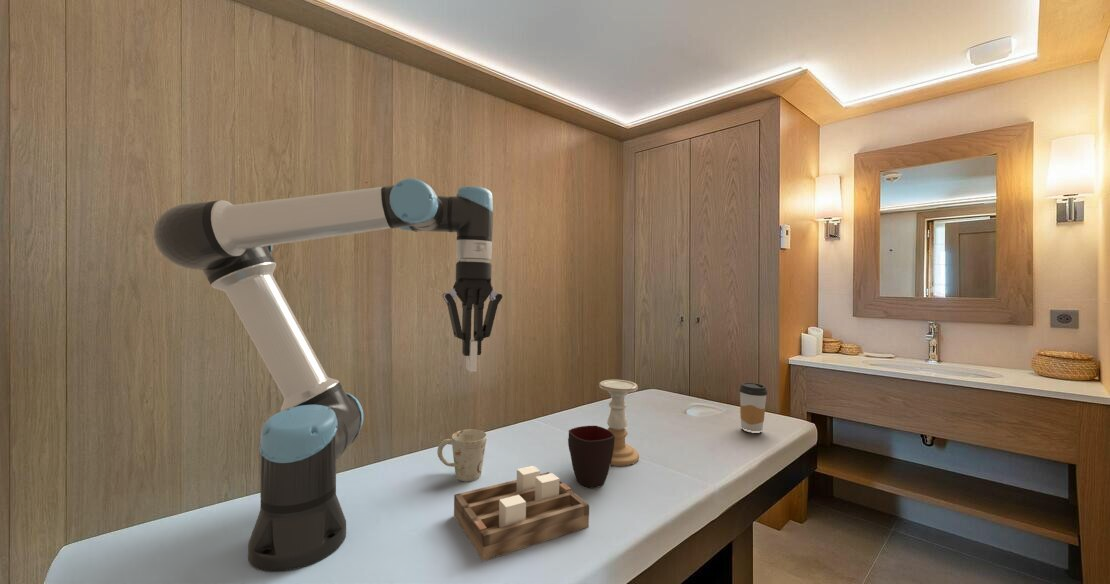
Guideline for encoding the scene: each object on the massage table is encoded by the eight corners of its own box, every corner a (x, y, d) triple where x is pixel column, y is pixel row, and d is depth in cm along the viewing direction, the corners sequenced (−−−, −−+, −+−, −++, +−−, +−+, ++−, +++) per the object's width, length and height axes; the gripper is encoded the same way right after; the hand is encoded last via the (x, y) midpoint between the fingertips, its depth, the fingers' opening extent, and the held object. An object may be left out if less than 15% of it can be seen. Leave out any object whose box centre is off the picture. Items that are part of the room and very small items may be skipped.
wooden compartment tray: (483, 561, 75) (483, 534, 75) (453, 515, 89) (454, 493, 89) (588, 526, 86) (589, 503, 86) (548, 491, 100) (548, 470, 100)
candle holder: (590, 463, 116) (592, 387, 115) (597, 445, 128) (599, 377, 127) (637, 469, 113) (640, 391, 112) (640, 450, 125) (642, 380, 124)
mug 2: (583, 496, 98) (584, 443, 98) (554, 471, 110) (555, 424, 110) (619, 487, 103) (620, 436, 102) (587, 464, 115) (588, 418, 115)
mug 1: (478, 485, 102) (479, 443, 101) (428, 479, 104) (428, 438, 104) (490, 470, 110) (491, 431, 110) (443, 464, 112) (444, 426, 112)
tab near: (505, 534, 79) (506, 507, 79) (498, 526, 81) (499, 499, 81) (525, 528, 81) (526, 501, 81) (518, 520, 83) (518, 494, 83)
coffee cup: (767, 429, 145) (769, 384, 145) (763, 437, 138) (766, 390, 138) (740, 424, 150) (741, 381, 149) (735, 431, 143) (737, 385, 142)
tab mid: (541, 507, 88) (542, 483, 88) (534, 500, 91) (535, 476, 91) (558, 502, 90) (559, 478, 90) (551, 496, 93) (552, 472, 93)
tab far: (522, 498, 92) (523, 474, 92) (516, 492, 94) (516, 469, 94) (539, 493, 94) (540, 470, 94) (532, 487, 96) (533, 465, 96)
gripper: (448, 259, 88) (446, 376, 89) (509, 262, 94) (506, 371, 95) (438, 260, 94) (436, 369, 95) (495, 262, 101) (493, 364, 102)
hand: (471, 370), depth 95 cm, fingers closed
